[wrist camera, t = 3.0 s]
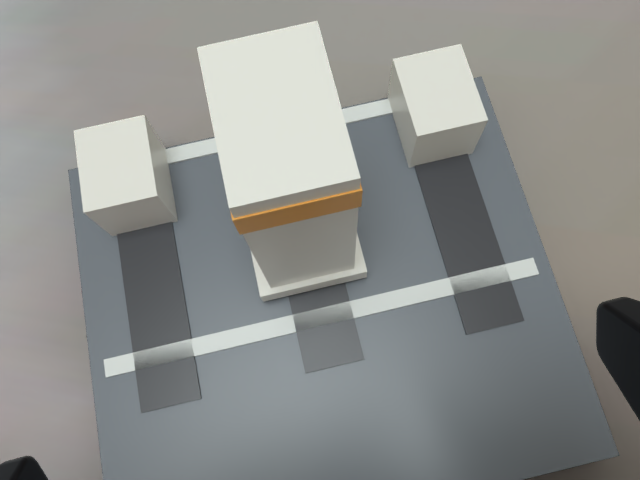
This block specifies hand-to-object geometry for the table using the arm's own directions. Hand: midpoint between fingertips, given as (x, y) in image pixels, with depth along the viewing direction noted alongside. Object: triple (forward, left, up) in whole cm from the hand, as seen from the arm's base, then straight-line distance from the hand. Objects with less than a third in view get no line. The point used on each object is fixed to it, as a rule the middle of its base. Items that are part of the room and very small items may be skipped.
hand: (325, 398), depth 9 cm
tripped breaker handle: (+4, +5, -10) cm, 12 cm away
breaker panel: (+2, +3, -12) cm, 13 cm away
